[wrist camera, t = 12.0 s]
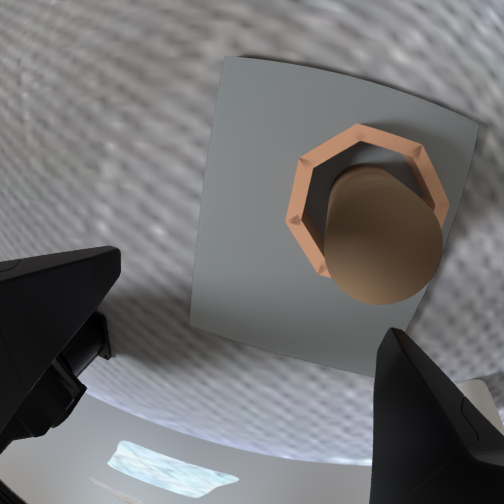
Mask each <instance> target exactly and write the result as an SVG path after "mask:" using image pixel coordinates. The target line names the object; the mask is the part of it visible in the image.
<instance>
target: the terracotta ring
mask: <svg viewBox="0 0 504 504" xmlns="http://www.w3.org/2000/svg"><path fill="white" fill-rule="evenodd" d="M359 141H364V142H367V143H371V144H374V145H377V146H380V147H384V148H387V149H390V150H393V151H396V152H399V153H402V154H403V156H404V158H405V160H406V162H407V164H408V165H409V167H410V169H411V171H412V173H413V175H414V177H415V179H416V181H417V183H418V186H419V188H420V190H421V192H422V194H423V198H422V200H423V201H425V202H426V203H427V205H428V206H429V207H430V208H431V209H432V211H433V212H434V213H435V215H436V217H437V219H438V221H439V224H440V227H441V229H442V226H443V223H444V220H445V217H446V214H447V211H448V208H449V205H450V204H449V201H448V199H447V196H446V194H445V192H444V189H443V187H442V185H441V182H440V180H439V178H438V176H437V174H436V171H435V169H434V167H433V165H432V163H431V161H430V159H429V157H428V155H427V153H426V151H425V149H424V147H423V145H422V144H419V143H417V142H414V141H411V140H408V139H405V138H403V137H400V136H397V135H394V134H391V133H387V132H384V131H381V130H378V129H375V128H371V127H368V126H365V125H361V124H358V123H357V124H354V125H352V126H351V127H349V128H347V129H345V130H344V131H342V132H340V133H338V134H337V135H335V136H333V137H332V138H330V139H328V140H327V141H325V142H323V143H322V144H320V145H318V146H317V147H315V148H313V149H312V150H310V151H308V152H307V153H305V154H303V155H302V156H301V157H300V158H299V160H298V165H297V170H296V174H295V179H294V184H293V188H292V193H291V197H290V202H289V206H288V211H287V215H286V220H285V223H286V224H287V226H288V227H289V229H290V231H291V232H292V234H293V235H294V237H295V238H296V240H297V242H298V243H299V245H300V246H301V248H302V250H303V251H304V253H305V254H306V256H307V258H308V259H309V261H310V262H311V264H312V266H313V267H314V269H315V270H316V272H317V274H319V275H323V276H326V277H330V278H331V276H330V274H329V272H328V269H327V266H326V263H325V258H324V238H323V237H322V235H321V233H320V232H319V230H318V228H317V227H316V225H315V223H314V222H313V220H312V218H311V217H310V215H309V214H308V212H307V210H306V209H305V207H306V203H307V199H308V194H309V190H310V186H311V181H312V177H313V173H314V168H315V167H316V166H318V165H319V164H321V163H323V162H324V161H326V160H328V159H330V158H331V157H333V156H335V155H336V154H338V153H340V152H342V151H343V150H345V149H347V148H348V147H350V146H352V145H354V144H355V143H357V142H359Z"/></svg>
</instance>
